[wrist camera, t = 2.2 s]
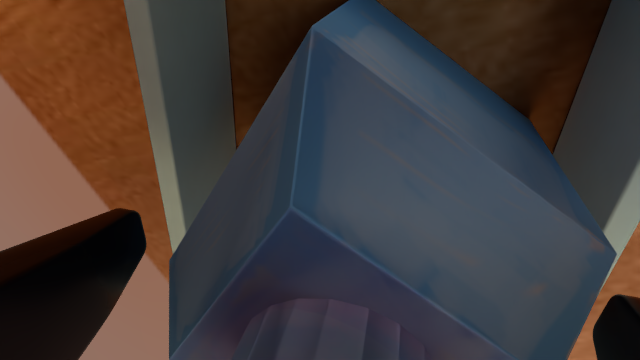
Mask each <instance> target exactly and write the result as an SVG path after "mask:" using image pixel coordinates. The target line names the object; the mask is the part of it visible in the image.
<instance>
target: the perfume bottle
mask: <svg viewBox="0 0 640 360" xmlns="http://www.w3.org/2000/svg"><path fill="white" fill-rule="evenodd" d="M616 256H617V253H616V251H615V250H614V248H613V247H612V245H611V244H610V242H609V241H608V239H607V238H606V236H605V235H604V233H603V232H602V230H601V229H600V227H599V225H598V224H597V222H596V221H595V219H594V218H593V216H592V215H591V213H590V212H589V210H588V209H587V207H586V206H585V204H584V203H583V201H582V199H581V198H580V196H579V195H578V193H577V192H576V190H575V189H574V187H573V186H572V184H571V183H570V181H569V180H568V178H567V177H566V175H565V173H564V172H563V170H562V169H561V167H560V166H559V164H558V163H557V161H556V160H555V158H554V157H553V155H552V154H551V152H550V150H549V149H548V147H547V146H546V144H545V143H544V141H543V140H542V138H541V137H540V135H539V134H538V132H537V131H536V129H535V128H534V126H533V124H532V123H531V121H530V120H529V119H528V118H527V117H525V116H524V115H523V114H521V113H520V112H519V111H517V110H516V109H515V108H514V107H512V106H511V105H510V104H508V103H507V102H506V101H505V100H503V99H502V98H501V97H499V96H498V95H497V94H496V93H494V92H493V91H492V90H490V89H489V88H488V87H487V86H485V85H484V84H483V83H481V82H480V81H479V80H478V79H476V78H475V77H474V76H472V75H471V74H470V73H469V72H467V71H466V70H465V69H463V68H462V67H461V66H460V65H458V64H457V63H456V62H454V61H453V60H452V59H451V58H449V57H448V56H447V55H445V54H444V53H443V52H442V51H440V50H439V49H438V48H436V47H435V46H434V45H433V44H431V43H430V42H429V41H427V40H426V39H425V38H424V37H422V36H421V35H420V34H418V33H417V32H416V31H415V30H413V29H412V28H411V27H409V26H408V25H407V24H405V23H404V22H403V21H402V20H400V19H399V18H398V17H396V16H395V15H394V14H393V13H391V12H390V11H389V10H387V9H386V8H385V7H384V6H382V5H381V4H380V3H378V2H377V1H376V0H349V1H347V2H346V3H344V4H343V5H341V6H340V7H338V8H337V9H336V10H334V11H333V12H331V13H330V14H328V15H327V16H325V17H324V18H322V19H321V20H320V21H318V22H317V23H315V24H314V25H312V27H311V28H310V30H309V32H308V33H307V35H306V36H305V38H304V40H303V41H302V43H301V45H300V46H299V48H298V50H297V51H296V53H295V55H294V56H293V58H292V60H291V61H290V63H289V64H288V66H287V68H286V69H285V71H284V73H283V74H282V76H281V78H280V79H279V81H278V83H277V84H276V86H275V88H274V89H273V91H272V92H271V94H270V96H269V97H268V99H267V101H266V102H265V104H264V106H263V107H262V109H261V111H260V112H259V114H258V116H257V117H256V119H255V120H254V122H253V124H252V125H251V127H250V129H249V130H248V132H247V134H246V135H245V137H244V139H243V140H242V142H241V144H240V145H239V147H238V148H237V150H236V152H235V153H234V155H233V157H232V158H231V160H230V162H229V163H228V165H227V167H226V168H225V170H224V172H223V173H222V175H221V176H220V178H219V180H218V181H217V183H216V185H215V186H214V188H213V190H212V191H211V193H210V195H209V196H208V198H207V200H206V201H205V203H204V204H203V206H202V208H201V209H200V211H199V213H198V214H197V216H196V218H195V219H194V221H193V223H192V224H191V226H190V227H189V229H188V231H187V232H186V234H185V236H184V237H183V239H182V241H181V242H180V244H179V246H178V247H177V249H176V251H175V252H174V254H173V255H172V257H171V259H170V260H169V360H567V359H568V357H569V355H570V353H571V351H572V349H573V347H574V344H575V342H576V340H577V338H578V336H579V334H580V332H581V330H582V327H583V325H584V323H585V321H586V319H587V317H588V315H589V313H590V311H591V308H592V306H593V304H594V302H595V300H596V298H597V296H598V294H599V292H600V289H601V287H602V285H603V283H604V281H605V279H606V277H607V275H608V272H609V270H610V268H611V266H612V264H613V262H614V260H615V258H616Z"/></svg>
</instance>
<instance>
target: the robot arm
mask: <svg viewBox="0 0 640 360" xmlns="http://www.w3.org/2000/svg"><path fill="white" fill-rule="evenodd" d="M145 250H146V238H145V233H144V229H143V225H142V220H141V217H140V215H139V213H138V212H136V211H134V210H128V209H122V208H117V209H114V210H111V211H109V212H106V213H103V214H100V215H98V216H95V217H92V218H90V219H87V220H84V221H81V222H79V223H76V224H73V225H71V226H68V227H65V228H62V229H60V230H57V231H54V232H52V233H49V234H46V235H43V236H41V237H38V238H36V239H33V240H30V241H27V242H25V243H22V244H19V245H16V246H14V247H11V248H9V249H6V250H3V251H0V360H78V359H79V358H80V356H81V355H82V354H83V352H84V351H85V349H86V348H87V347H88V345H89V344H90V342H91V341H92V339H93V338H94V337H95V335H96V333H97V332H98V331H99V329H100V328H101V326H102V325H103V323H104V322H105V320H106V319H107V317H108V316H109V314H110V312H111V311H112V309H113V308H114V306H115V304H116V302H117V301H118V299H119V297H120V295H121V294H122V292H123V290H124V288H125V287H126V285H127V283H128V281H129V280H130V278H131V276H132V274H133V272H134V271H135V269H136V267H137V265H138V264H139V262H140V260H141V258H142V256H143V255H144V253H145ZM593 341H594V346H595V350H596V355H597V360H640V298H638V297H632V296H626V295H614V296H613V297H611V298H610V300H609V301H608V303H607V305H606V306H605V308H604V310H603V312H602V313H601V315H600V317H599V318H598V320H597V322H596V323H595V326H594V329H593Z"/></svg>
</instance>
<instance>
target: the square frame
mask: <svg viewBox="0 0 640 360" xmlns="http://www.w3.org/2000/svg"><path fill="white" fill-rule="evenodd" d="M124 5H125V10H126V15H127V20H128V25H129V30H130V36H131V41H132V46H133V51H134V56H135V61H136V66H137V72H138V77H139V82H140V87H141V92H142V97H143V102H144V108H145V113H146V118H147V123H148V128H149V133H150V139H151V144H152V149H153V154H154V159H155V164H156V169H157V175H158V180H159V185H160V190H161V195H162V200H163V206H164V211H165V216H166V221H167V226H168V231H169V236H170V242H171V247H172V252H173V254H174V252H175V251H176V249H177V247H178V246H179V244H180V242H181V241H182V239H183V237H184V236H185V234H186V232H187V231H188V229H189V227H190V226H191V224H192V223H193V221H194V219H195V218H196V216H197V214H198V213H199V211H200V209H201V208H202V206H203V204H204V203H205V201H206V200H207V198H208V196H209V195H210V193H211V191H212V190H213V188H214V186H215V185H216V183H217V181H218V180H219V178H220V176H221V175H222V173H223V172H224V170H225V168H226V167H227V165H228V163H229V162H230V160H231V158H232V157H233V155H234V153H235V152H236V139H235V126H234V112H233V99H232V85H231V72H230V59H229V45H228V32H227V18H226V5H225V0H124ZM553 157H554V158H555V160H556V161H557V163H558V164H559V166H560V167H561V169H562V170H563V172H564V173H565V175H566V177H567V178H568V180H569V181H570V183H571V184H572V186H573V187H574V189H575V190H576V192H577V193H578V195H579V196H580V198H581V199H582V201H583V203H584V204H585V206H586V207H587V209H588V210H589V212H590V213H591V215H592V216H593V218H594V219H595V221H596V222H597V224H598V225H599V227H600V229H601V230H602V232H603V233H604V235H605V236H606V238H607V239H608V241H609V242H610V244H611V245H612V247H613V248H614V250H615V251H616V253H617V256H616V258H615V260H614V262H613V264H612V266H611V268H610V270H609V272H608V275H607V277H606V279H605V281H604V283H603V285H604V284H605V282H606V280H607V278H608V276H609V275H610V273H611V271H612V269H613V268H614V266H615V264H616V262H617V260H618V259H619V257H620V255H621V253H622V251H623V250H624V248H625V246H626V244H627V243H628V241H629V239H630V237H631V235H632V234H633V232H634V230H635V228H636V227H637V225H638V223H639V221H640V0H612V1H611V4H610V6H609V9H608V12H607V14H606V17H605V19H604V22H603V25H602V27H601V30H600V33H599V35H598V38H597V40H596V43H595V46H594V48H593V51H592V53H591V56H590V59H589V61H588V64H587V67H586V69H585V72H584V74H583V77H582V80H581V82H580V85H579V88H578V90H577V93H576V95H575V98H574V101H573V103H572V106H571V108H570V111H569V114H568V116H567V119H566V122H565V124H564V127H563V129H562V132H561V135H560V137H559V140H558V142H557V145H556V148H555V150H554V153H553ZM603 285H602V287H603ZM602 287H601V289H602ZM601 289H600V291H601Z"/></svg>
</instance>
